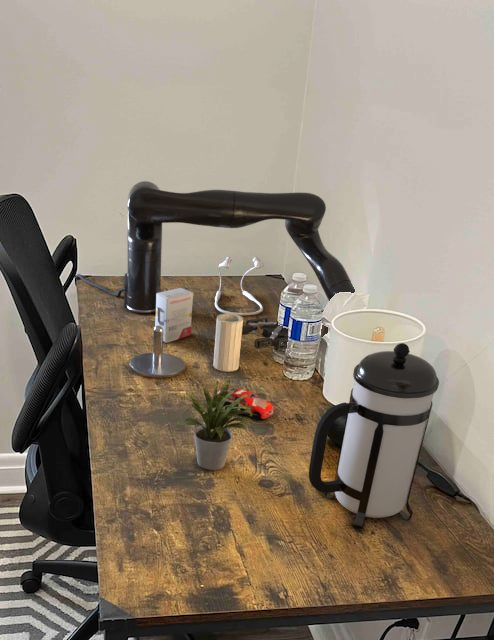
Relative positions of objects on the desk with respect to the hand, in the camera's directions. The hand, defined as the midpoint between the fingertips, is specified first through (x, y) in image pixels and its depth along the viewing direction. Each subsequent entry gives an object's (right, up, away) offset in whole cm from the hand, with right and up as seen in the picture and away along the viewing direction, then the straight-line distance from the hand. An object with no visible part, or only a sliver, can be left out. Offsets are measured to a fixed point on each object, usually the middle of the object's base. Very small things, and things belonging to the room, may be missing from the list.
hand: (245, 337), depth 174 cm
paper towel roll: (-4, -7, +2) cm, 8 cm away
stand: (-21, -7, 0) cm, 22 cm away
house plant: (-11, -31, -37) cm, 49 cm away
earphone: (+2, +17, +39) cm, 43 cm away
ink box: (-17, +3, +16) cm, 24 cm away
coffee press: (+15, -39, -47) cm, 63 cm away
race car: (-2, -19, -17) cm, 26 cm away
